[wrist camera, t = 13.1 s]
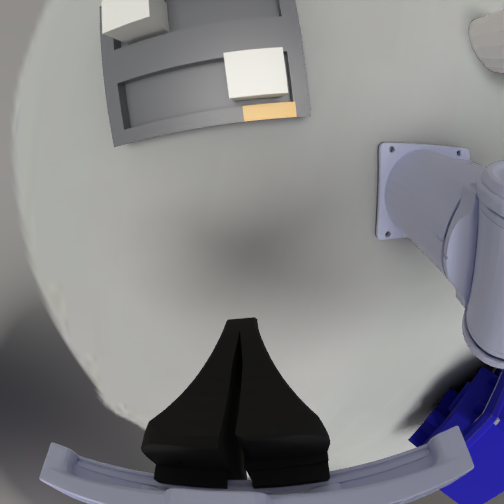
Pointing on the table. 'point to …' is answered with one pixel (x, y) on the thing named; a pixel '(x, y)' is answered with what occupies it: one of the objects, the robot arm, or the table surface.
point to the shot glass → (489, 40)
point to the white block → (256, 74)
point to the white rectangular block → (134, 19)
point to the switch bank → (200, 68)
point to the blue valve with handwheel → (473, 435)
